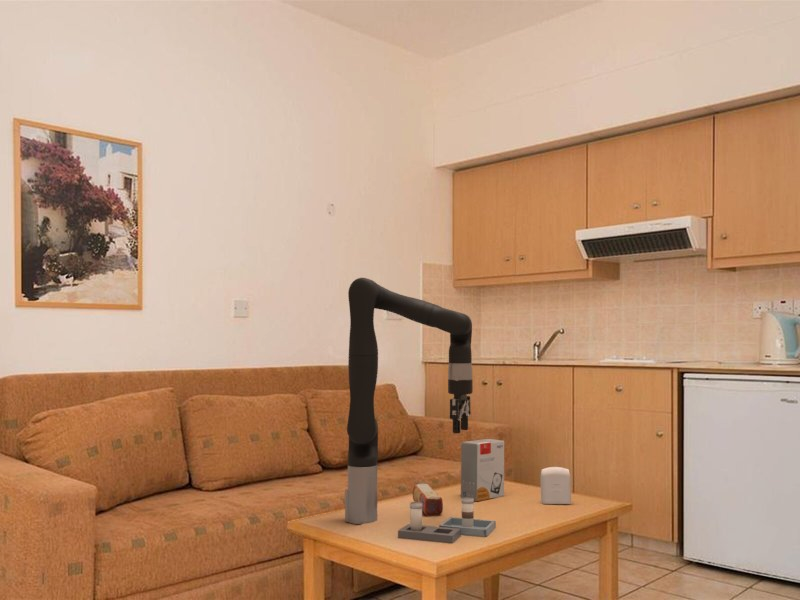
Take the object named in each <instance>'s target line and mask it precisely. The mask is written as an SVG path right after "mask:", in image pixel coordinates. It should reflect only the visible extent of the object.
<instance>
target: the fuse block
mask: <svg viewBox="0 0 800 600" xmlns="http://www.w3.org/2000/svg"><path fill="white" fill-rule="evenodd" d="M461 536H462V535H461V529H456V528H445V527H439V526H432V525H423V524H422V531H414V530H410V523H407V524H405V525H404V526H402V527H401V528H400V529H398V530H397V539H406V540H413V541H414V540H415V541H423V542H424V541H425V542H434V543H442V544H443V543H444V544H454V543H455V542H456V541H458V539H460V538H461Z"/></svg>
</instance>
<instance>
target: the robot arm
mask: <svg viewBox="0 0 800 600" xmlns="http://www.w3.org/2000/svg"><path fill="white" fill-rule="evenodd" d="M347 294H348V305H349V319H350V326H349V327H350V328H349V339H348V365H347V366H348V385H349V408H348V409H349V410H348V418H347V425H346V432H347V435H348V450H347V451H348V452H347V453H348V454H347V489H346V490H345V492H344V507H345V508H344V522H347V523H350V524H354V525H363V524H371V523H375V522H377V521H378V453H379V426H378V421H377V419H376V415H375V391H376V386H377V381H378V374H379V373H378V372H379V370H378V369H379V348H378V347H379V346H378V340H377V335H376V331H375V325H374V324H375V322H374V321H375V320H374V316H375V309H377V310H383V311H386V312H390V313H393V314H396V315H399V316H401V317H403V318H405V319H408V320H410V321H413V322H416V323H417V324H418V323H419V324H421V325H424V326H427V327H431V328H437V329H438V330H441V331H443V332H446V333H449V340H450V341H449V343H450V344H449V347H448V366H447V367H448V368H447V393H448V394H450V395H453V398H450V399H449V420H452V433H453V434H461V430H462V431H468V430H469V418H470V415H471V412H472V411H471V410H472V409H471V395H472V394H473V392H474V391H473V388H474V387H473V381H474V379H473V377H474V376H473V374H474V373H473V366H472V365H473V364H472V362H473V361H472V357H473V356H472V353H473V352H472V339H473V338H472V337H473V335H472V334H473V322H472V319H471V317H470V316H469V315H467V314H466V313H463V312H459V311H456V310H452V309H448V308H444V307H442V306H440V305H437V304H435V303H432V302H429V301H426V300H423V299H419V298H416V297H410V296H407V295H403V294H399V293H397V292H394V291H393V290H390V289H388V288H385V287H384V286H382V285H380V284H378V283H376V281H374V280H373V279H370V278H366V277H357V278H356V279H354V280H353V281H352V282H351V283H350V285H349V288H348V292H347Z"/></svg>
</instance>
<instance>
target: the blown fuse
mask: <svg viewBox="0 0 800 600" xmlns="http://www.w3.org/2000/svg"><path fill="white" fill-rule="evenodd" d="M460 501H461V518H462V527H468V528H474V517H475V516H474V515H475V514H474V513H475V511H474V502H475V501H474V498H471V497H464V498H461V497H460Z"/></svg>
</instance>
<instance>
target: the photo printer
mask: <svg viewBox="0 0 800 600" xmlns="http://www.w3.org/2000/svg"><path fill="white" fill-rule="evenodd" d="M540 503H541V504H542V505H571V504H572V477H571V473H570V469H569V468H565V467H561V466H550V467H545V468H542V469H541V471H540Z"/></svg>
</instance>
